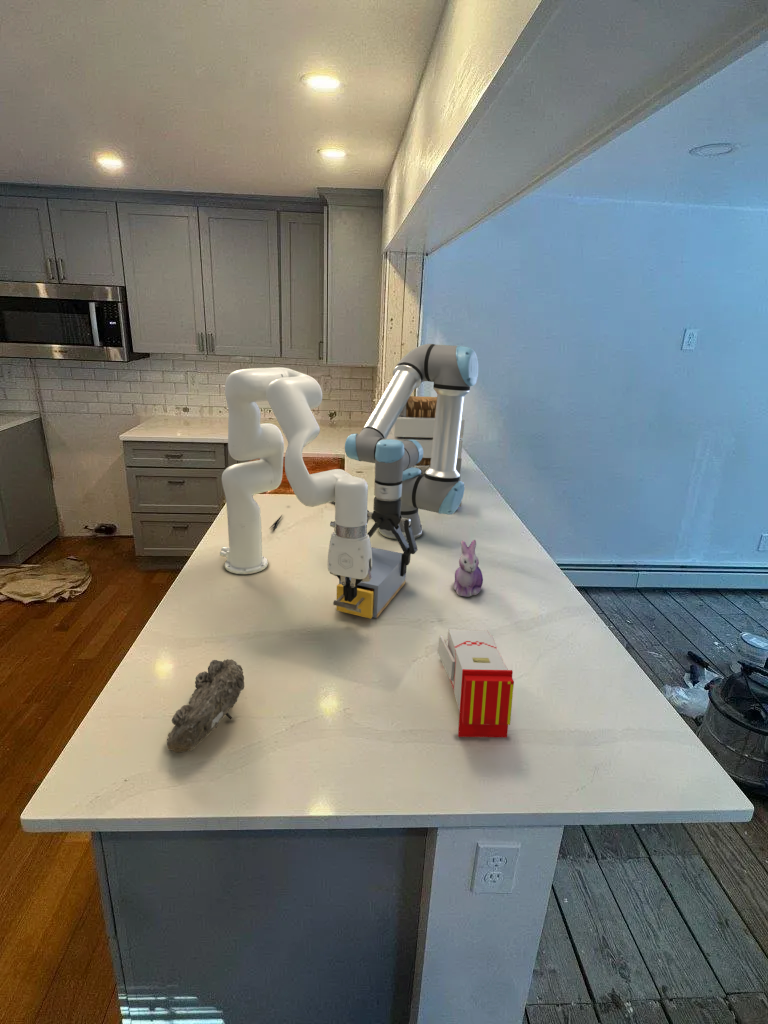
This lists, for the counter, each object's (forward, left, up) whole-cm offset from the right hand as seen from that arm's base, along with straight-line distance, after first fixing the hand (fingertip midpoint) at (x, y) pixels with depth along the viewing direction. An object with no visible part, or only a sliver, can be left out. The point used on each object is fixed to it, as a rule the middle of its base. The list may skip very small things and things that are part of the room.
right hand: (384, 570), depth 162 cm
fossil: (+23, -62, -4) cm, 67 cm away
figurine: (+17, +17, -4) cm, 24 cm away
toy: (+48, -17, -4) cm, 51 cm away
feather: (-62, +3, -4) cm, 62 cm away
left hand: (+12, -21, +3) cm, 24 cm away
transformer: (-79, +91, -4) cm, 120 cm away
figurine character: (-36, +67, -4) cm, 76 cm away
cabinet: (+3, -7, -4) cm, 9 cm away
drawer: (+6, -12, -3) cm, 14 cm away
